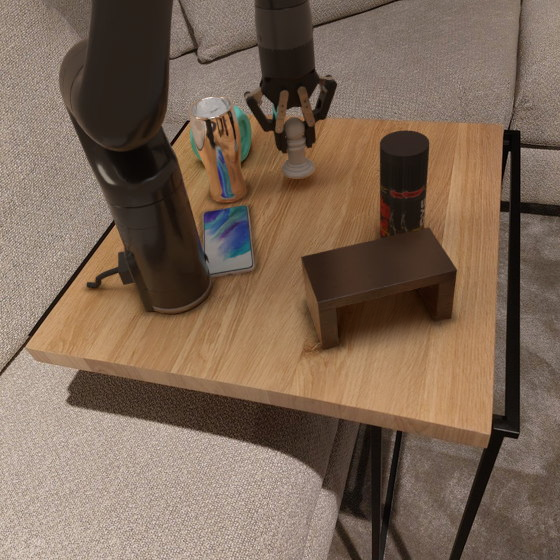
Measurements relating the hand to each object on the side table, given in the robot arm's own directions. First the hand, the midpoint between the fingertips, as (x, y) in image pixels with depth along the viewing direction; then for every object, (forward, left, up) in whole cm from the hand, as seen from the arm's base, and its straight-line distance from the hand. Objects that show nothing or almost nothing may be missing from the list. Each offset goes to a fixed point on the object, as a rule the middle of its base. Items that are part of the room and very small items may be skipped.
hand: (295, 147), depth 90 cm
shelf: (+3, -30, -6) cm, 31 cm away
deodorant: (+10, -18, -7) cm, 22 cm away
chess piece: (0, 0, -4) cm, 4 cm away
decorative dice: (-10, +13, -7) cm, 18 cm away
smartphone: (-13, -10, -7) cm, 18 cm away
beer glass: (-11, +2, -7) cm, 13 cm away
